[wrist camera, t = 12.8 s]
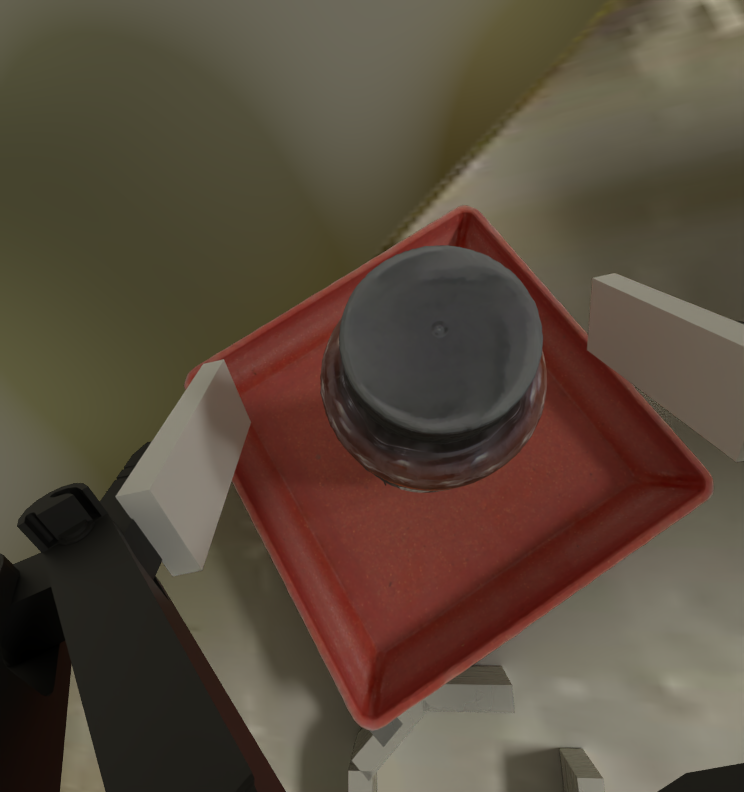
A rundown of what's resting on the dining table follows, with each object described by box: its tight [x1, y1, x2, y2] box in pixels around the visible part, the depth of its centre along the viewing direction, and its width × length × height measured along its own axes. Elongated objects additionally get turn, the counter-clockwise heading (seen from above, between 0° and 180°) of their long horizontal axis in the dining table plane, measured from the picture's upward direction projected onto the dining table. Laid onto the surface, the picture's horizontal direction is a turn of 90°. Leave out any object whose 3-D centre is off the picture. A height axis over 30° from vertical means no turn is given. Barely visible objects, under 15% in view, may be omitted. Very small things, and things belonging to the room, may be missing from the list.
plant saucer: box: [184, 205, 714, 731], centre depth 20 cm, size 18×18×3 cm
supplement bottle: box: [320, 245, 547, 493], centre depth 13 cm, size 6×6×11 cm
